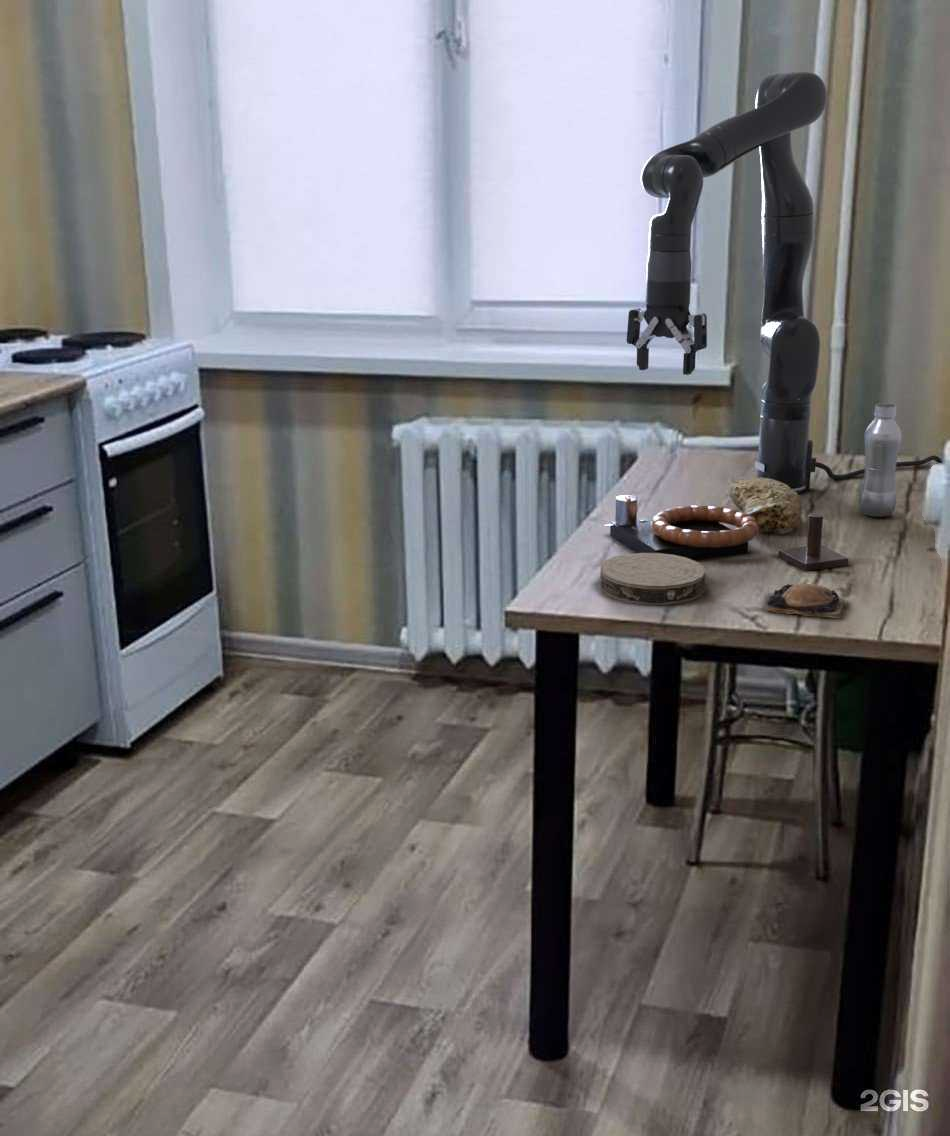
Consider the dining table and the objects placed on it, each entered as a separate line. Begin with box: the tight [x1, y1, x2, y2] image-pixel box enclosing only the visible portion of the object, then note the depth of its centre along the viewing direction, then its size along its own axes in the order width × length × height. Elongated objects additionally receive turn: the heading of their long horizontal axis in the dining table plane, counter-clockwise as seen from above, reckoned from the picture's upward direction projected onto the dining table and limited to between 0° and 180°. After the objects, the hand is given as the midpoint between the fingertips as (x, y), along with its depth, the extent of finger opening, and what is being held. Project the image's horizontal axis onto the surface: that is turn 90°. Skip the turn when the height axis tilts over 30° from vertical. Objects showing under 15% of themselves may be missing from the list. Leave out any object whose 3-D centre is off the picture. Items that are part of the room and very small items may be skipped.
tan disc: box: [599, 552, 706, 606], centre depth 209 cm, size 16×16×3 cm
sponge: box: [729, 477, 804, 535], centre depth 242 cm, size 13×8×20 cm
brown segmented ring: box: [651, 505, 760, 547], centre depth 226 cm, size 17×17×3 cm
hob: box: [604, 516, 749, 561], centre depth 230 cm, size 19×19×3 cm
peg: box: [777, 512, 850, 572], centre depth 219 cm, size 8×8×8 cm
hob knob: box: [614, 494, 638, 526], centre depth 232 cm, size 4×4×5 cm
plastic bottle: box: [858, 402, 903, 518], centre depth 241 cm, size 6×7×20 cm
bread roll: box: [765, 582, 846, 619], centre depth 200 cm, size 11×8×4 cm
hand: (665, 371), depth 237 cm, fingers open, 8 cm apart
